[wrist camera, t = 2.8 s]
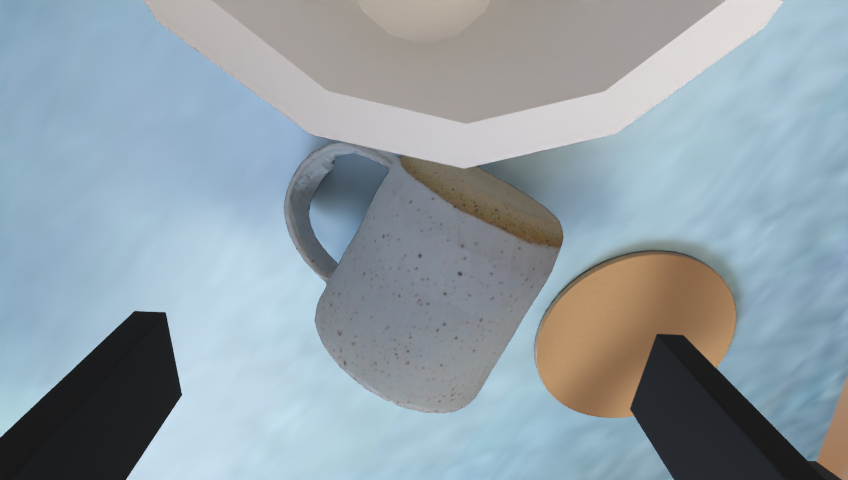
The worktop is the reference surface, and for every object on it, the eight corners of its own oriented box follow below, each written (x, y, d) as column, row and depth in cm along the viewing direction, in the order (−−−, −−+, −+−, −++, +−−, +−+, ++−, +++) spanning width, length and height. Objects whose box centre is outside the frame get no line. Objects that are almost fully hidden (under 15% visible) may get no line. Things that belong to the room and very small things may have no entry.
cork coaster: (519, 411, 25) (520, 416, 25) (556, 245, 21) (558, 248, 21) (692, 414, 26) (696, 420, 26) (763, 256, 22) (769, 259, 21)
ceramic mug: (545, 191, 20) (620, 265, 13) (463, 324, 23) (488, 446, 16) (330, 87, 18) (278, 108, 11) (270, 249, 20) (197, 350, 13)
